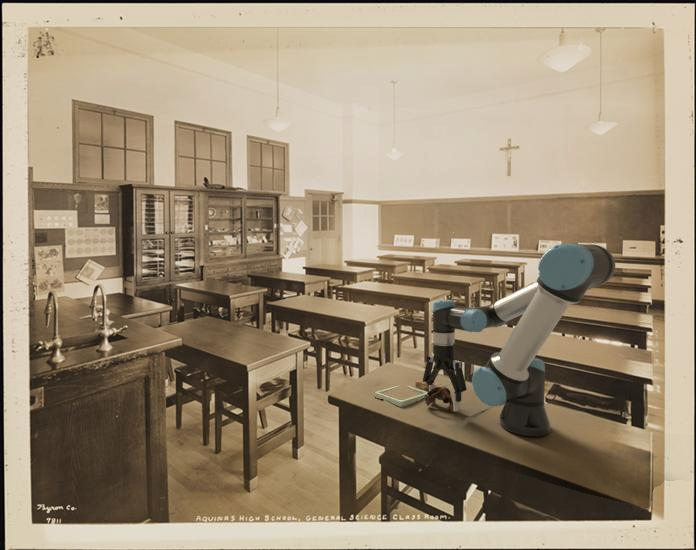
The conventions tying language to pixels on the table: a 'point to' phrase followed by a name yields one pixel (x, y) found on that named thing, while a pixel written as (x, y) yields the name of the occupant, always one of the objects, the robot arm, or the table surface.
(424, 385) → the oak cube
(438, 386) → the oak cube
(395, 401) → the tray
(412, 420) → the table surface
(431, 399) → the broken pot
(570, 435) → the table surface
